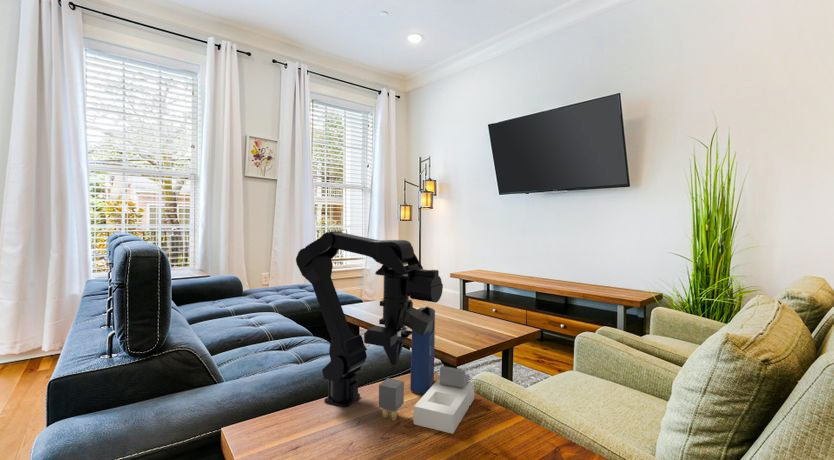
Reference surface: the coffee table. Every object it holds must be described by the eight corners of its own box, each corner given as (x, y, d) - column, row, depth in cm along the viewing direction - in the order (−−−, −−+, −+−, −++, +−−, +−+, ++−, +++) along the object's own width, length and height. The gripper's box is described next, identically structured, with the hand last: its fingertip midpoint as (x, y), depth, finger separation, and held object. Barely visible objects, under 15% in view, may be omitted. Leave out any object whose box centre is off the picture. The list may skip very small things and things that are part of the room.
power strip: (413, 424, 85) (413, 406, 85) (440, 391, 101) (440, 376, 101) (452, 433, 82) (453, 415, 82) (474, 398, 97) (474, 383, 97)
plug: (378, 418, 87) (378, 385, 87) (387, 409, 91) (387, 377, 91) (395, 422, 86) (395, 388, 85) (403, 413, 90) (403, 381, 89)
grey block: (439, 383, 96) (440, 367, 96) (447, 375, 101) (447, 359, 101) (463, 388, 94) (463, 371, 93) (469, 379, 99) (470, 363, 98)
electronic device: (429, 394, 99) (430, 316, 98) (409, 392, 100) (410, 315, 99) (434, 379, 109) (436, 308, 108) (416, 377, 110) (417, 307, 109)
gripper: (413, 309, 76) (411, 388, 77) (443, 292, 93) (441, 356, 94) (363, 303, 80) (361, 377, 81) (400, 287, 97) (399, 349, 98)
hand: (394, 364), depth 88 cm, fingers closed
